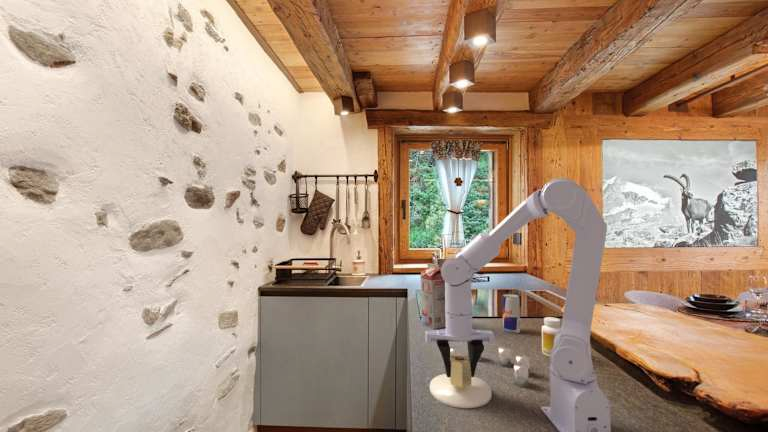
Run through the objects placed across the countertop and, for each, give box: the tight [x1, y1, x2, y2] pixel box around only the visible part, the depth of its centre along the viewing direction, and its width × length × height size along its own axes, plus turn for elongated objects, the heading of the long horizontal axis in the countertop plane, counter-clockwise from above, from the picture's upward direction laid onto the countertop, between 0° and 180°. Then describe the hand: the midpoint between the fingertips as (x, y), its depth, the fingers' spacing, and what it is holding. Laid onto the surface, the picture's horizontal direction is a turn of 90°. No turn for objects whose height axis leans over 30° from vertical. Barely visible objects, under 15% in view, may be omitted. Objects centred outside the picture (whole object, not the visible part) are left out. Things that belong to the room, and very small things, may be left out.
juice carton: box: [420, 262, 446, 330], centre depth 113 cm, size 7×7×22 cm
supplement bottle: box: [541, 316, 561, 358], centre depth 86 cm, size 5×5×10 cm
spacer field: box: [449, 345, 531, 388], centre depth 77 cm, size 16×18×4 cm
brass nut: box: [449, 353, 472, 388], centre depth 68 cm, size 5×4×5 cm
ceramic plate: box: [429, 373, 493, 409], centre depth 68 cm, size 13×13×1 cm
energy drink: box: [501, 293, 521, 335], centre depth 106 cm, size 5×5×12 cm
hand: (459, 375), depth 68 cm, fingers closed on brass nut, 4 cm apart
